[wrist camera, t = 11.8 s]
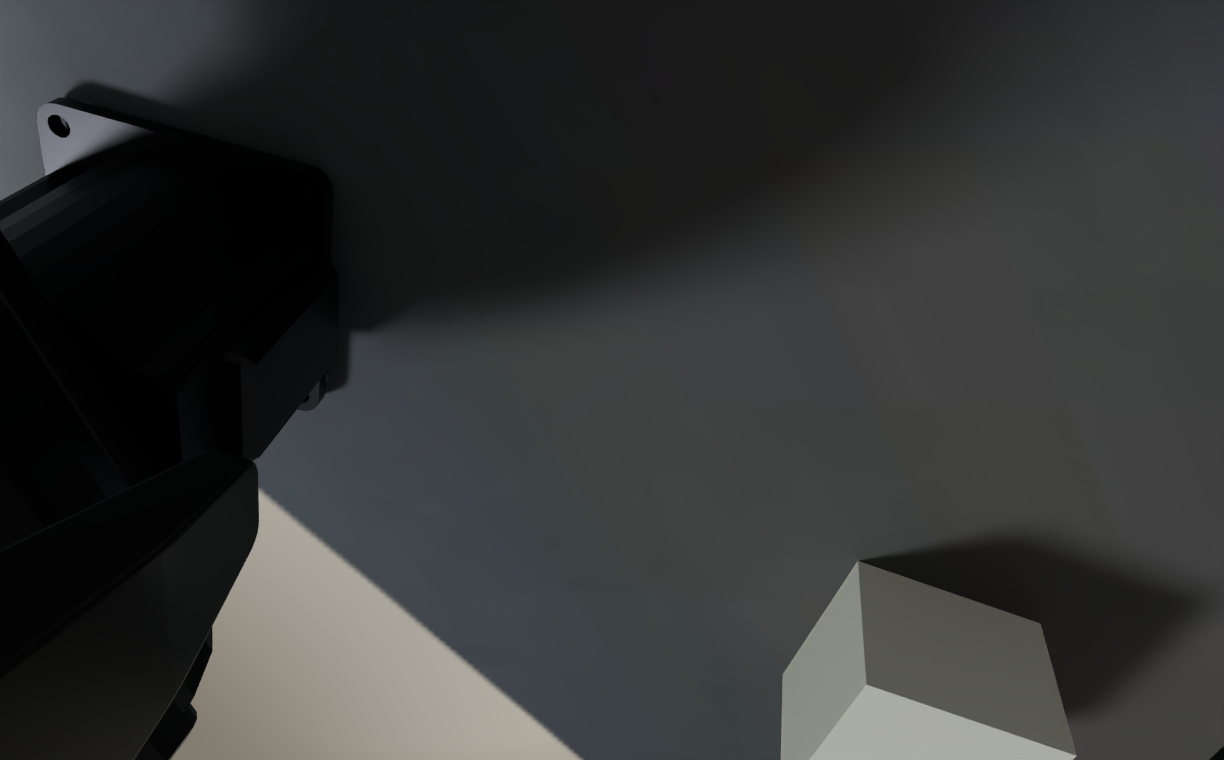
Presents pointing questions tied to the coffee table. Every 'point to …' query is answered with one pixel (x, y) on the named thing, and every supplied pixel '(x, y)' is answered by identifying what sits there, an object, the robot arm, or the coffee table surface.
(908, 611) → the plastic block
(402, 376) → the coffee table surface
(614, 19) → the coffee table surface
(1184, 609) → the coffee table surface
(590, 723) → the coffee table surface
